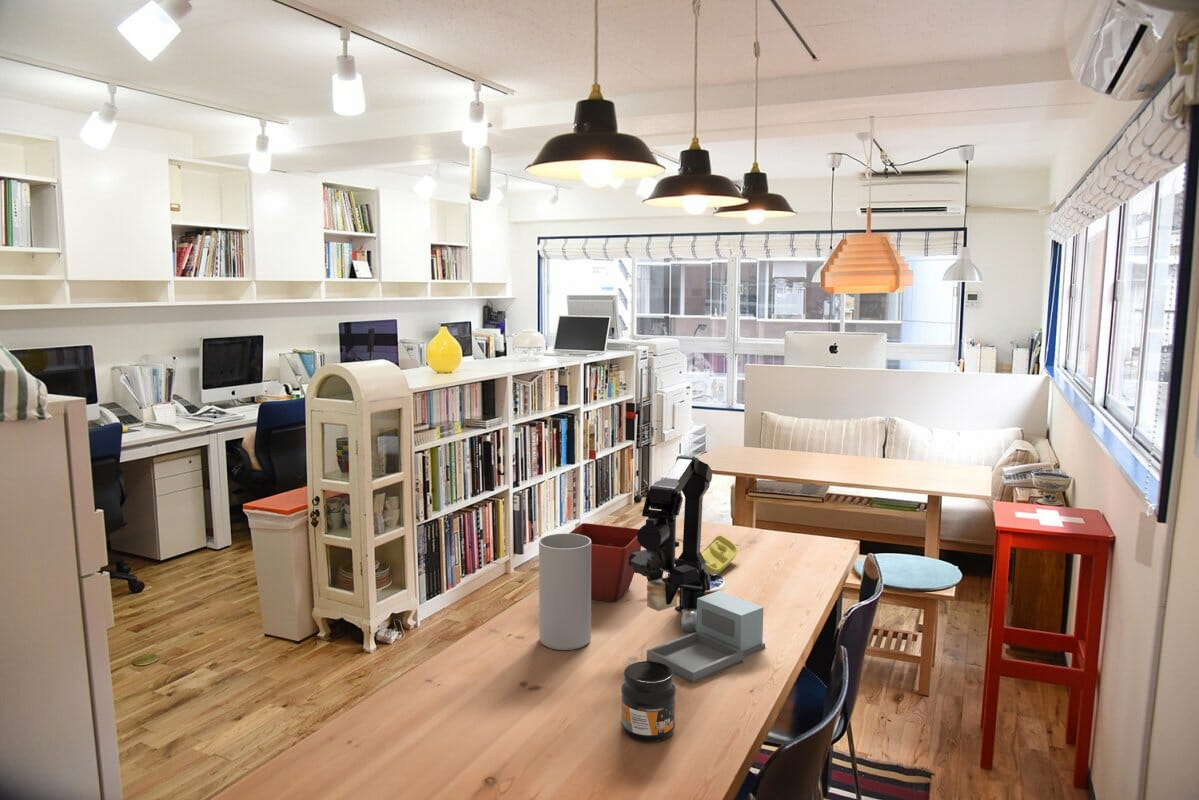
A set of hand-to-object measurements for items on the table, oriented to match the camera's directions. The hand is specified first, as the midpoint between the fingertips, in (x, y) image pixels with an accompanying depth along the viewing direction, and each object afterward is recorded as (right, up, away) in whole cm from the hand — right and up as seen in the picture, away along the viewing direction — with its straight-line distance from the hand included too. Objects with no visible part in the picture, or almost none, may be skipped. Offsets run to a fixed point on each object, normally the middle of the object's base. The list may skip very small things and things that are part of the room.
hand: (662, 601), depth 199 cm
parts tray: (+7, -12, -7) cm, 15 cm away
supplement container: (-5, -16, -36) cm, 40 cm away
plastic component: (+20, -4, +59) cm, 63 cm away
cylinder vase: (-23, -11, +4) cm, 26 cm away
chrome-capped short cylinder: (+8, -10, +11) cm, 17 cm away
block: (0, -1, 0) cm, 1 cm away
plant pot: (-14, -7, +37) cm, 40 cm away
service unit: (+16, -11, +4) cm, 20 cm away
